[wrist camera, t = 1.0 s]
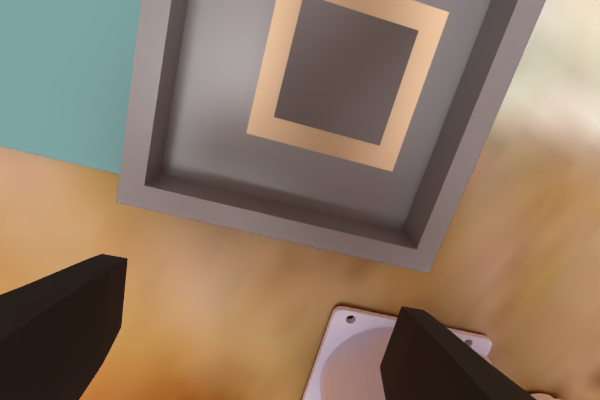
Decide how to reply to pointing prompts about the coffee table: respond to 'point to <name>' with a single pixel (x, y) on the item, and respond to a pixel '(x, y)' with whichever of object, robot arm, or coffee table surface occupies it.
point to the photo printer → (543, 396)
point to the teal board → (67, 78)
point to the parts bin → (299, 161)
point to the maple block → (345, 75)
